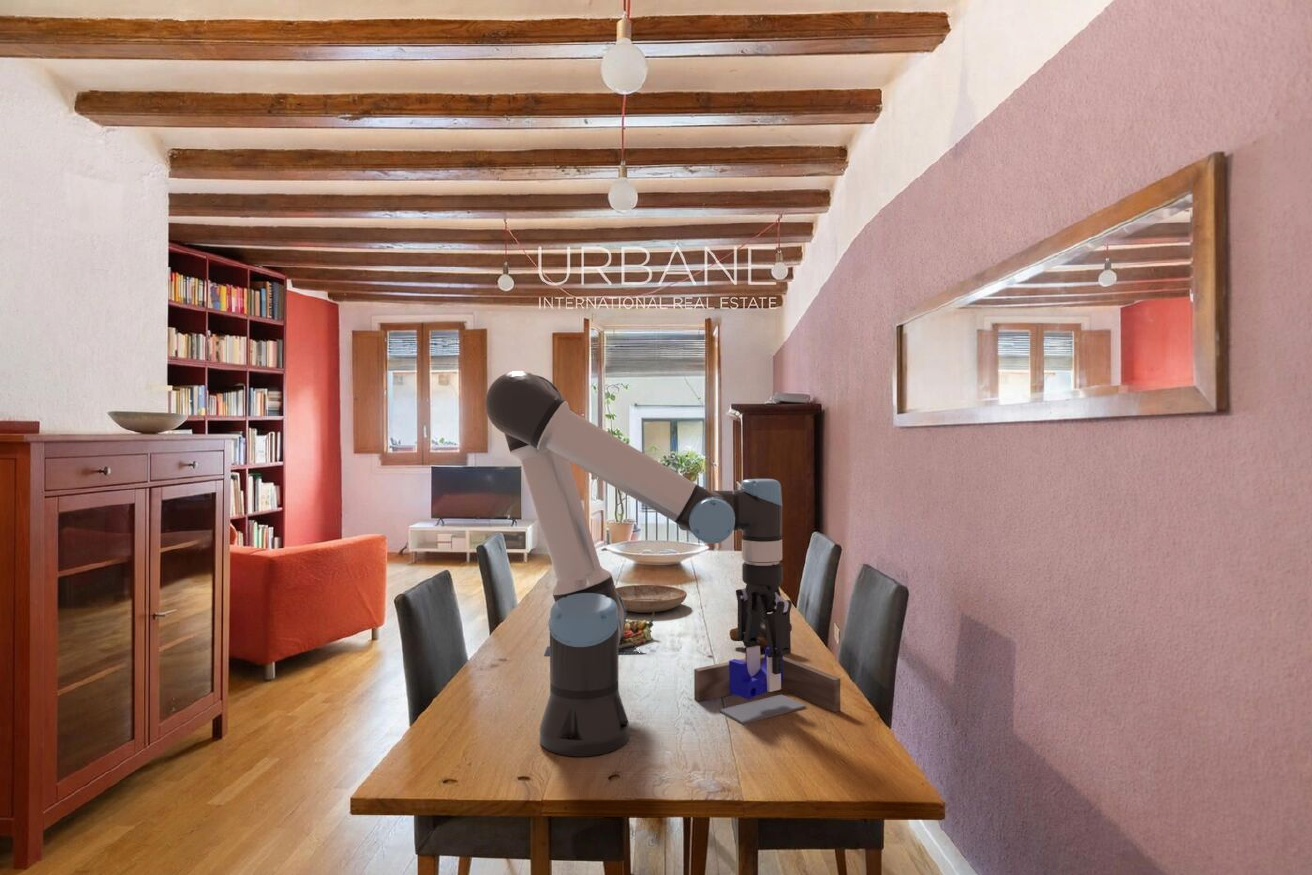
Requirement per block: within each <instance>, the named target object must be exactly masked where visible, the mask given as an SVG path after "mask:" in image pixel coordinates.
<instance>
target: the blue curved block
mask: <svg viewBox="0 0 1312 875" xmlns="http://www.w3.org/2000/svg"><path fill="white" fill-rule="evenodd" d="M775 649H776V648H775ZM764 651H765V652H764V654H765V658H764V661H763V664H762V666H761V668H760V670H759V671H758V672H757V673H756V674H755V675H754V676H752V677H751V676H750V674H749V672H748V668H747V662H744V661H740V659H737V658H732V659H729V660H728V662H729V685H730V694H731V695H734V696H737V697H740V698H742V699H745V700H747V701H749V700H752V699H754V698H756V697H759V696H762V695H764V694H766V693H769V692H768V691H767V654H770V652H769V647H768V648H766V650H764ZM783 656H784V655H783ZM783 656H782V673H781V682H782V681H783Z"/></svg>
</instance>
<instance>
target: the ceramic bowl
mask: <svg viewBox="0 0 1312 875" xmlns="http://www.w3.org/2000/svg"><path fill="white" fill-rule="evenodd" d="M615 588H616V591H617V593H618V594H619V596H620V597H621V599H622V601H623V603H624V606H625V610H626V612H632V613H640V614H646V613H647V614H650V613H651V614H652V613H653V612H654V613H658V612H659V613H661V612H664V611H669V610H671V609H674V608H676V607H679V605H682V603H683V602H685V600H686V598H687V596H688V594H687V591H685V590H684V589H681V588H679V587H673V586H670V585H662V584H636V585H635V584H631V585H624V586H619V587H618V586H617V587H615Z"/></svg>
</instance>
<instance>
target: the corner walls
mask: <svg viewBox="0 0 1312 875" xmlns="http://www.w3.org/2000/svg"><path fill="white" fill-rule="evenodd" d="M764 658H765V653H764V654H760V668H761V666H762V664H763V661H764ZM739 660H740V661H744V662H746V657H745V658H741V659H739ZM693 670H694V671H693V673H694V674H693V676H694V677H693V678H694V679H693V680H694V681H693V682H694V683H693V684H694V685H693V687H694V688H693V689H694V693H693V694H694V698H693V700H694V701H696V702H697V703H701V702H704V701H705V702H706V701H709V700H713V699H718V698H722V697H726V696H730V695H732V694H730V685H729V661H727V662H726V661H725V662H721V663H717V664H712V665H706V666H702V667H697V668H694V669H693ZM780 690H784V691H786V692H789V693H791V694H793V695H795V696H797V697H799V698H802V699H804V700H806V701H809V702H811V703H812V704H815V705H817V706H819V707H822V708H824V709H827V710H828V711H831V712H833V713H837V712H841V678H840V677H838V676H835V675H833V674H830V673H827V672H825V671H822V670H819V669H817V668H814V667H812V666H809V665H806V664H804V663H801V662H799V661H797V660H795V659H791V658H789V657H786V656H785V655H783V681H782V682H781V689H780Z"/></svg>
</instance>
